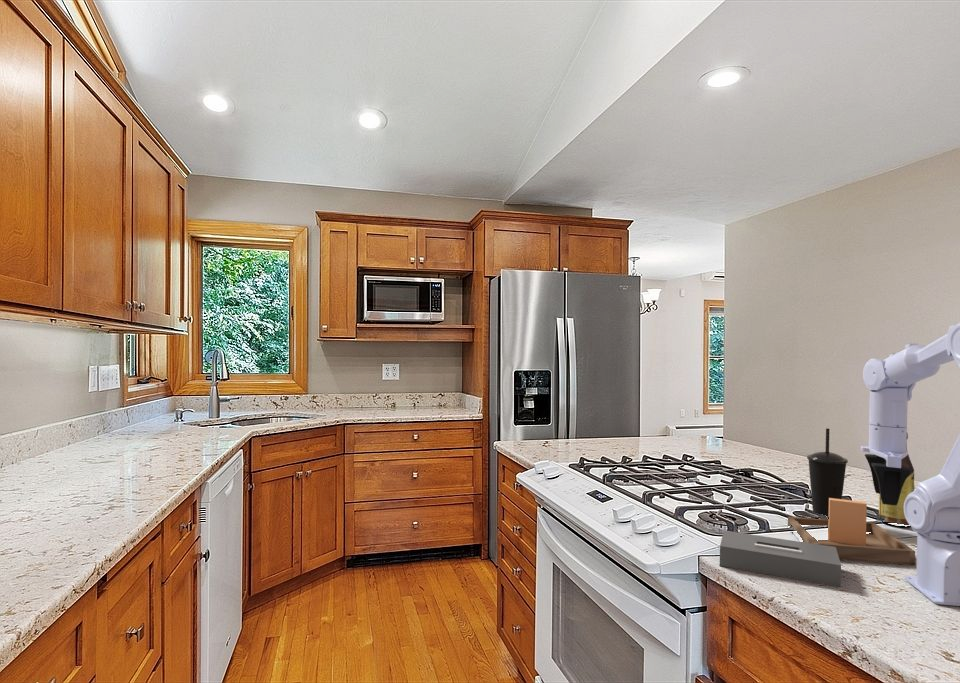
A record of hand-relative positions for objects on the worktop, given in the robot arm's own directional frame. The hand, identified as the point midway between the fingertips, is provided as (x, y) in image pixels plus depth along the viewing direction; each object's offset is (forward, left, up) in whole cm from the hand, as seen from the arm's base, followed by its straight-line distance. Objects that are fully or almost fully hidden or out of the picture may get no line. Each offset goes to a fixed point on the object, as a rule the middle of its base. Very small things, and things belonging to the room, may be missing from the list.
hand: (885, 498), depth 107 cm
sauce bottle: (+21, -11, -11) cm, 26 cm away
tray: (+4, +5, -10) cm, 12 cm away
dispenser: (-10, +21, -10) cm, 25 cm away
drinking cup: (+20, +3, -11) cm, 23 cm away
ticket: (+4, +5, -10) cm, 12 cm away
